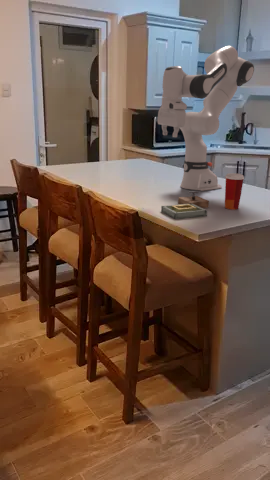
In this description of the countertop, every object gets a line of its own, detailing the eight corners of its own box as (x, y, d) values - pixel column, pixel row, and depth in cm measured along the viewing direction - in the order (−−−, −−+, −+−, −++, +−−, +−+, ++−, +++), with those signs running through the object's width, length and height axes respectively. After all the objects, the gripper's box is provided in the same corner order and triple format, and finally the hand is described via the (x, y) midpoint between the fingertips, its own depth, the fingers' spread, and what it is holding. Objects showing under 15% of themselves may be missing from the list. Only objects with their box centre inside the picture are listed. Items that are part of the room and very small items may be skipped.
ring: (178, 214, 177) (179, 209, 176) (171, 210, 183) (171, 205, 182) (199, 212, 181) (199, 207, 180) (191, 208, 186) (191, 203, 186)
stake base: (196, 202, 202) (197, 196, 201) (208, 207, 193) (209, 200, 192) (177, 203, 198) (178, 197, 197) (189, 209, 189) (189, 202, 188)
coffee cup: (238, 205, 197) (241, 173, 193) (243, 210, 190) (246, 176, 185) (220, 205, 197) (223, 172, 192) (224, 210, 189) (227, 176, 184)
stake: (196, 198, 196) (196, 190, 195) (197, 199, 195) (198, 191, 193) (187, 199, 194) (188, 191, 193) (189, 199, 193) (189, 192, 192)
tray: (191, 208, 190) (191, 203, 189) (206, 215, 179) (207, 210, 178) (161, 211, 184) (161, 205, 183) (175, 219, 173) (175, 213, 173)
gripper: (154, 103, 202) (153, 134, 207) (176, 105, 184) (174, 138, 189) (166, 104, 205) (165, 134, 209) (188, 105, 187) (186, 138, 191)
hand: (169, 136), depth 199 cm, fingers open, 8 cm apart
